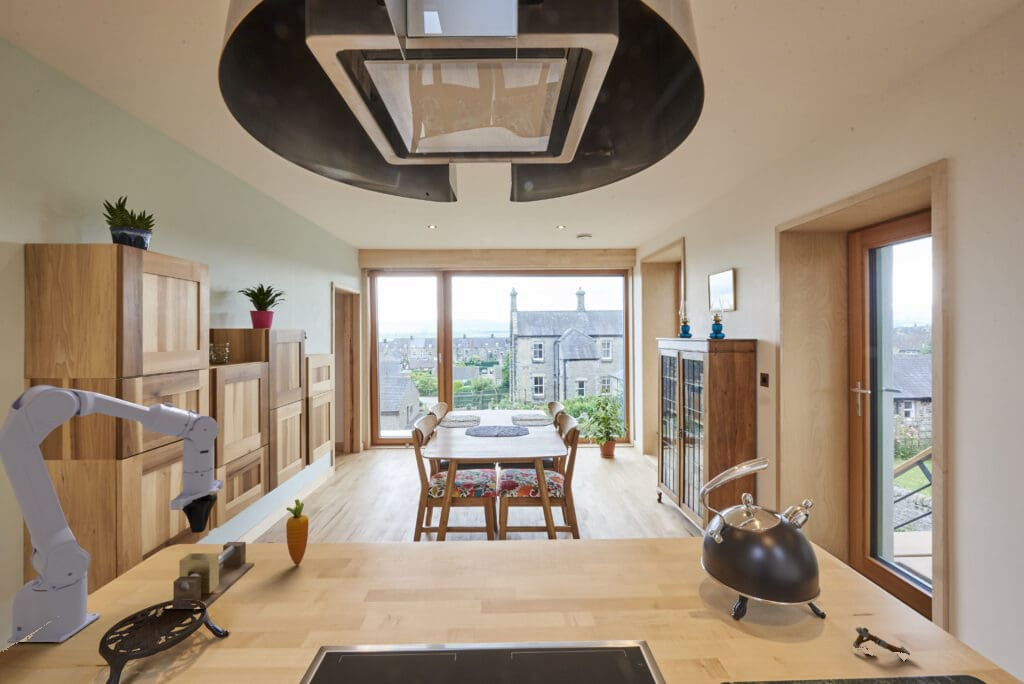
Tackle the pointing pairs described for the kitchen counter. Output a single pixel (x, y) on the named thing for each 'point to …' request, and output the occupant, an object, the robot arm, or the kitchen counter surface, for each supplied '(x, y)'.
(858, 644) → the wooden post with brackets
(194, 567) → the brushed brass square block
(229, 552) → the pipe
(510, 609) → the kitchen counter surface
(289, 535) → the carrot
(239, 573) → the slider rail
